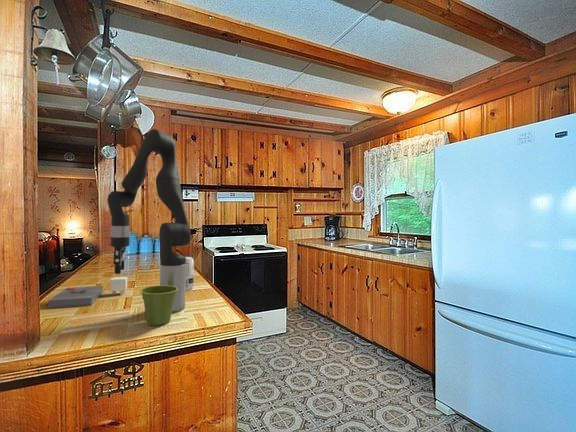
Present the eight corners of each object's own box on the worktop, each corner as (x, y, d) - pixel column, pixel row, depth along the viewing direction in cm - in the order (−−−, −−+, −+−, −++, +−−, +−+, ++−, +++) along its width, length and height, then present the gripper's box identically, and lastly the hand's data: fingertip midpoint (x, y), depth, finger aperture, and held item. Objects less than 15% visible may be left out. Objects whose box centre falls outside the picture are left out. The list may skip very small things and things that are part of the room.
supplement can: (172, 288, 147) (173, 257, 146) (188, 285, 153) (188, 256, 152) (180, 291, 141) (181, 259, 141) (196, 288, 147) (197, 258, 147)
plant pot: (176, 327, 98) (177, 292, 98) (136, 330, 95) (136, 294, 95) (178, 315, 110) (179, 284, 110) (143, 317, 106) (143, 285, 106)
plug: (125, 294, 134) (125, 279, 134) (110, 295, 132) (110, 279, 132) (127, 292, 138) (127, 276, 138) (112, 293, 136) (112, 277, 136)
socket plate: (91, 305, 119) (91, 296, 119) (48, 308, 114) (48, 298, 114) (103, 292, 138) (103, 284, 138) (66, 294, 133) (67, 286, 133)
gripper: (126, 237, 130) (126, 274, 130) (132, 234, 143) (131, 268, 144) (107, 237, 127) (106, 275, 128) (114, 234, 141) (113, 269, 141)
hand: (119, 271), depth 136 cm, fingers open, 8 cm apart
